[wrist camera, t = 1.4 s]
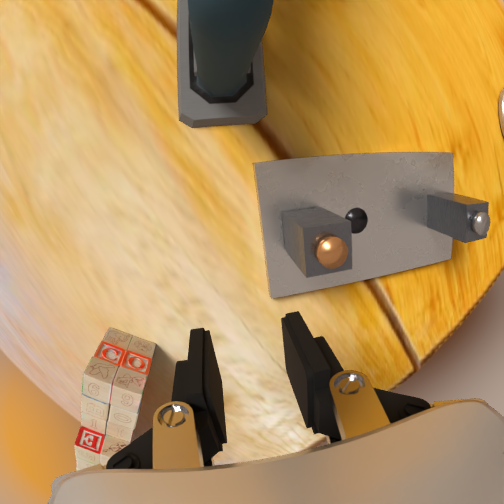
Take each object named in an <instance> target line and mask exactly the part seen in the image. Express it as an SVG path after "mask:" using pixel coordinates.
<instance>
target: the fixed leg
mask: <svg viewBox="0 0 504 504" xmlns="http://www.w3.org/2000/svg"><path fill="white" fill-rule="evenodd" d="M488 203H489V202H486V201H482V200H478V199H475V198H471V197H466V196H462V195H458V194H454V193H449V192H448V193H437V194H427V227H428V228H430V229H433V230H435V231H438V232H440V233H443V234H445V235H447V236H450V237H452V238H455V239H457V240H459V241H462V242H464V243H467V242H471V241H475V240H479V239H483V238H486V236H487V231H488V229H489V226H490V217H489V215H488Z"/></svg>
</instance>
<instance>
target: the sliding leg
mask: <svg viewBox="0 0 504 504" xmlns="http://www.w3.org/2000/svg"><path fill="white" fill-rule="evenodd" d="M282 218H283V227H284V237H285V247H286V252H287V254H288V255H289V256H290V258H291V259H292V260H293V261H294V263H295V264H296V265H297V267H298V268H299V269H300V270H301V272H302V273H303V274H304V276H305V277H306V278H309V277H314V276H319V275H325V274H330V273H335V272H340V271H345V270H350V269H352V231H351V221H350V220H347V219H345V218H343V217H341V216H339V215H337V214H335V213H333V212H331V211H328V210H326V209H324V208H322V207H317V208H310V209H302V210H295V211H288V212H282Z"/></svg>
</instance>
